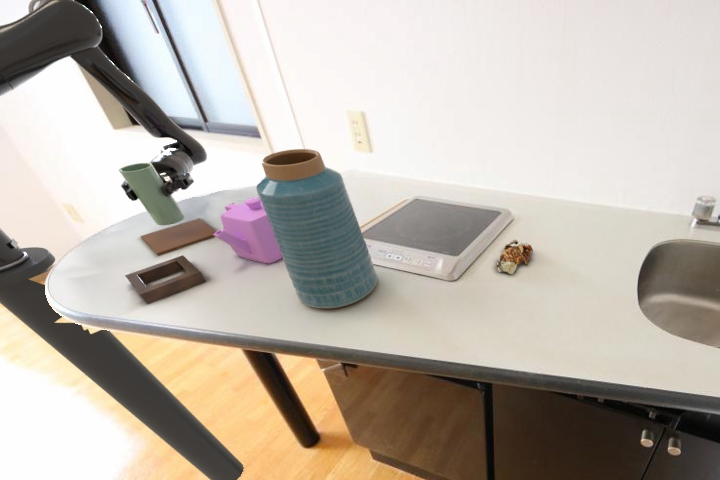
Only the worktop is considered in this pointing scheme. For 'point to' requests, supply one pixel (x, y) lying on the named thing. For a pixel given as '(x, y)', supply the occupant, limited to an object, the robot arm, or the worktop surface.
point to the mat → (178, 236)
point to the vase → (316, 229)
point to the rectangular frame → (168, 286)
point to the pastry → (513, 256)
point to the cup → (152, 193)
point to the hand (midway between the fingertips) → (148, 194)
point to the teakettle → (249, 232)
